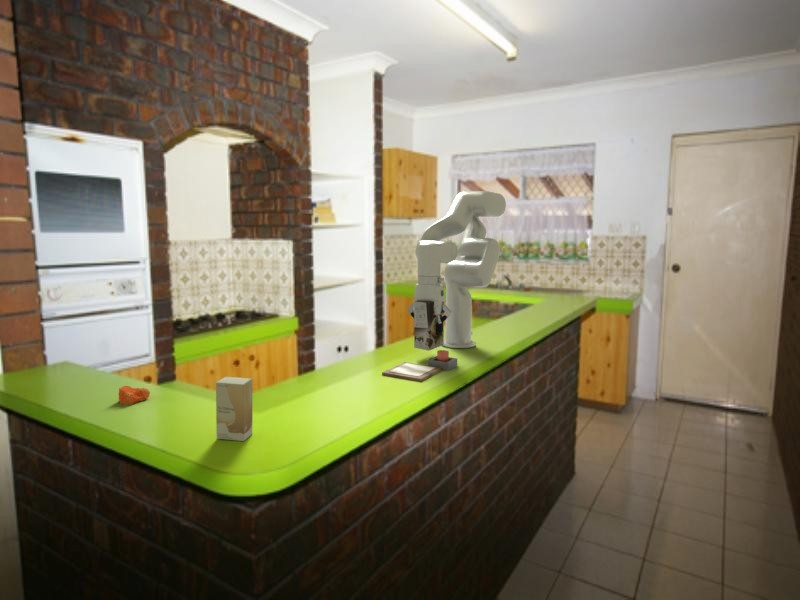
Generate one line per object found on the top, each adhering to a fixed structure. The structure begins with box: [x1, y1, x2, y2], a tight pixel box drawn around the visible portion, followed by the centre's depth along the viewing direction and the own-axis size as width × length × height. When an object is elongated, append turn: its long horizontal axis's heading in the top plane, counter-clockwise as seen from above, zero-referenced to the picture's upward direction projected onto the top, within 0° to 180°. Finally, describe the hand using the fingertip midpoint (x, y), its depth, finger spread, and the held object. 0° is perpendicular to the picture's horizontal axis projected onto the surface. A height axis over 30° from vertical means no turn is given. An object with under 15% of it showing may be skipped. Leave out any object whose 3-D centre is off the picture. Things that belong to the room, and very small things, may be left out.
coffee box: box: [413, 300, 445, 351], centre depth 176 cm, size 9×6×16 cm
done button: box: [436, 349, 450, 362], centre depth 166 cm, size 4×4×3 cm
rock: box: [118, 385, 151, 406], centre depth 131 cm, size 12×12×4 cm
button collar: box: [427, 355, 458, 372], centre depth 166 cm, size 7×7×2 cm
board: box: [381, 361, 443, 382], centre depth 159 cm, size 14×13×1 cm
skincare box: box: [215, 376, 253, 442], centre depth 109 cm, size 6×4×12 cm
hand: (429, 332), depth 176 cm, fingers closed on coffee box, 6 cm apart
